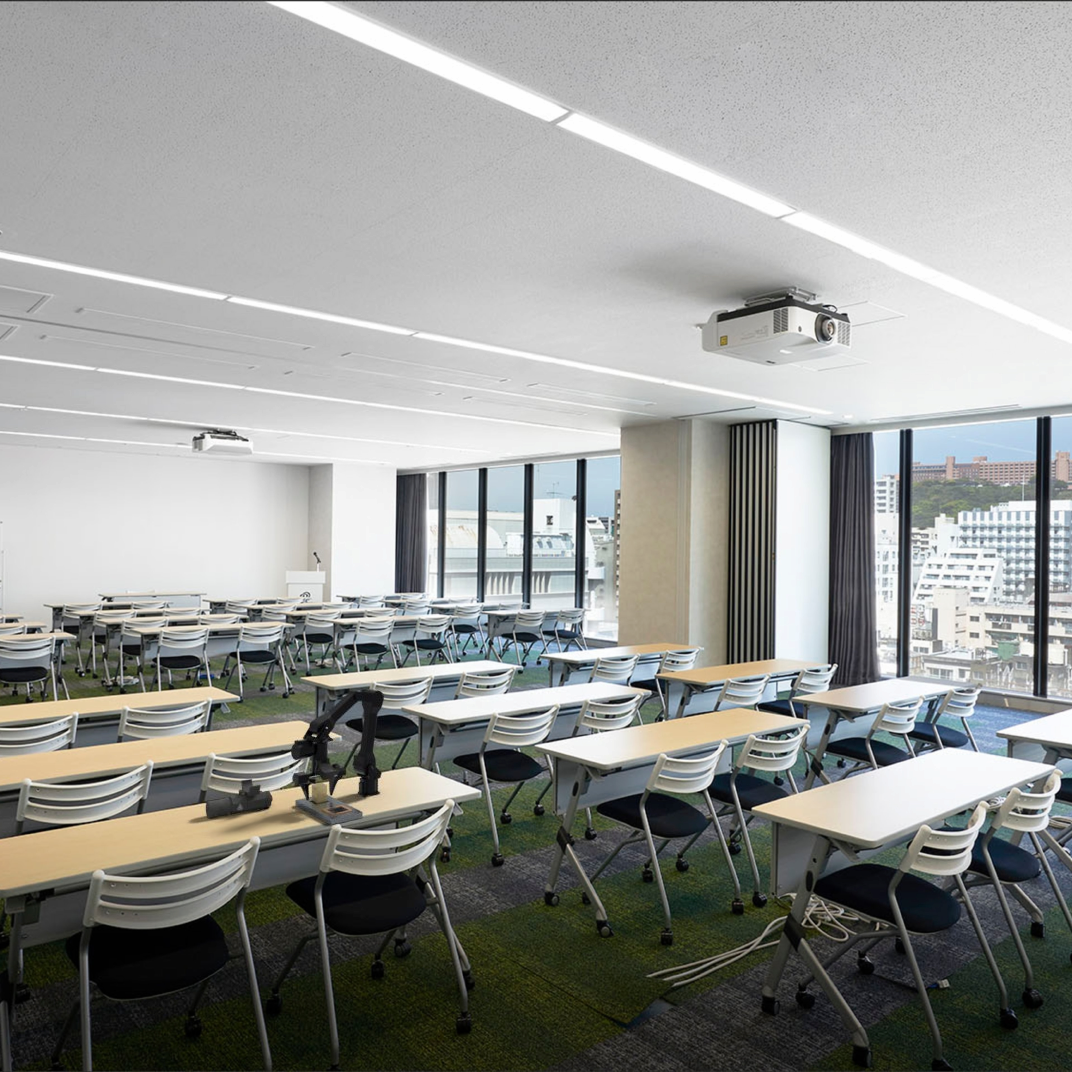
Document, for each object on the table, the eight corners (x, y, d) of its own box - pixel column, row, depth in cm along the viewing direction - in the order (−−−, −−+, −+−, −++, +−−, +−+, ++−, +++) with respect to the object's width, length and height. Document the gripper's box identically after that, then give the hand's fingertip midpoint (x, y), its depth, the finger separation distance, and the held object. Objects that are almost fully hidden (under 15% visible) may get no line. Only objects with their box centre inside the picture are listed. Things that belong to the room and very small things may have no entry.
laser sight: (203, 815, 299) (204, 786, 299) (266, 803, 312) (267, 776, 312) (211, 822, 291) (212, 793, 291) (276, 810, 304) (276, 782, 304)
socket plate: (325, 799, 317) (325, 793, 317) (362, 817, 295) (362, 811, 296) (295, 805, 309) (295, 799, 309) (331, 825, 288) (331, 818, 288)
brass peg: (321, 804, 310) (321, 782, 310) (326, 807, 307) (326, 785, 307) (311, 806, 308) (311, 784, 308) (316, 809, 305) (316, 787, 305)
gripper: (305, 763, 296) (305, 808, 295) (353, 755, 308) (353, 798, 308) (291, 757, 304) (291, 800, 304) (339, 749, 316) (338, 791, 316)
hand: (319, 797), depth 308 cm, fingers open, 9 cm apart
